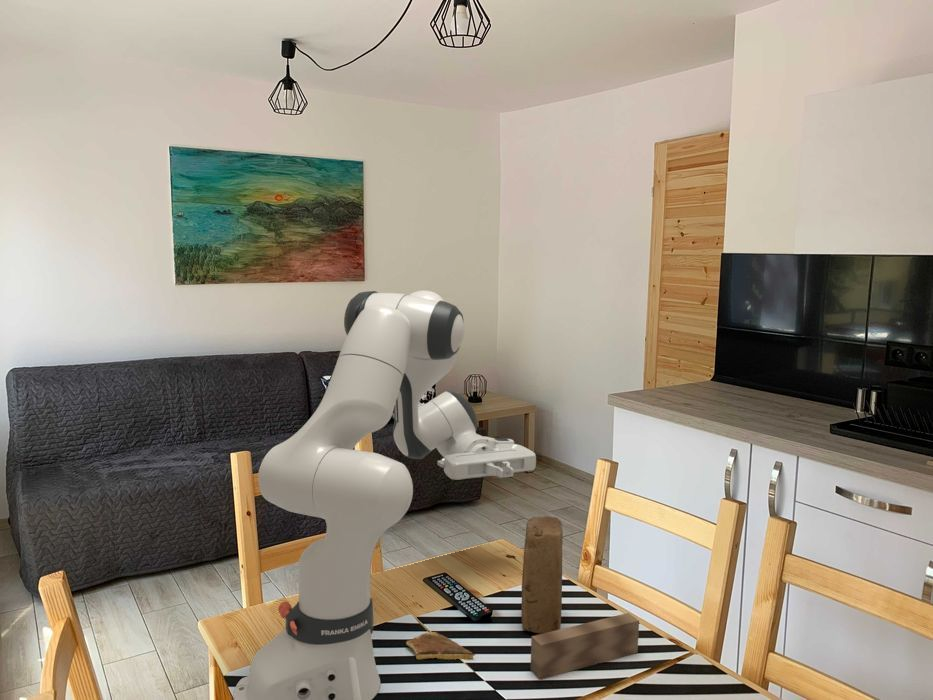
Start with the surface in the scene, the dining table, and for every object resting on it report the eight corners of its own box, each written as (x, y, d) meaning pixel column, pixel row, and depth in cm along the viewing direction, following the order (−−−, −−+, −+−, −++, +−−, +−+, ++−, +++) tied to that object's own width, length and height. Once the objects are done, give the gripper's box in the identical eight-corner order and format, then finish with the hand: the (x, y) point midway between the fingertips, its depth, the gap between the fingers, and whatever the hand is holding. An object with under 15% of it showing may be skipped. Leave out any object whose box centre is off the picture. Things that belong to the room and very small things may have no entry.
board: (539, 679, 116) (540, 645, 116) (530, 670, 119) (531, 636, 118) (637, 652, 125) (639, 620, 124) (626, 644, 128) (628, 612, 127)
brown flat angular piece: (475, 662, 122) (475, 652, 122) (441, 679, 117) (441, 669, 117) (434, 637, 130) (434, 628, 130) (401, 652, 125) (401, 642, 125)
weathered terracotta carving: (560, 638, 129) (564, 533, 127) (519, 635, 130) (522, 530, 128) (561, 610, 140) (564, 512, 137) (523, 606, 141) (525, 509, 138)
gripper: (434, 446, 152) (461, 463, 140) (517, 438, 161) (549, 453, 149) (433, 475, 153) (460, 494, 141) (516, 465, 162) (548, 482, 150)
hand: (507, 473), depth 145 cm, fingers closed
